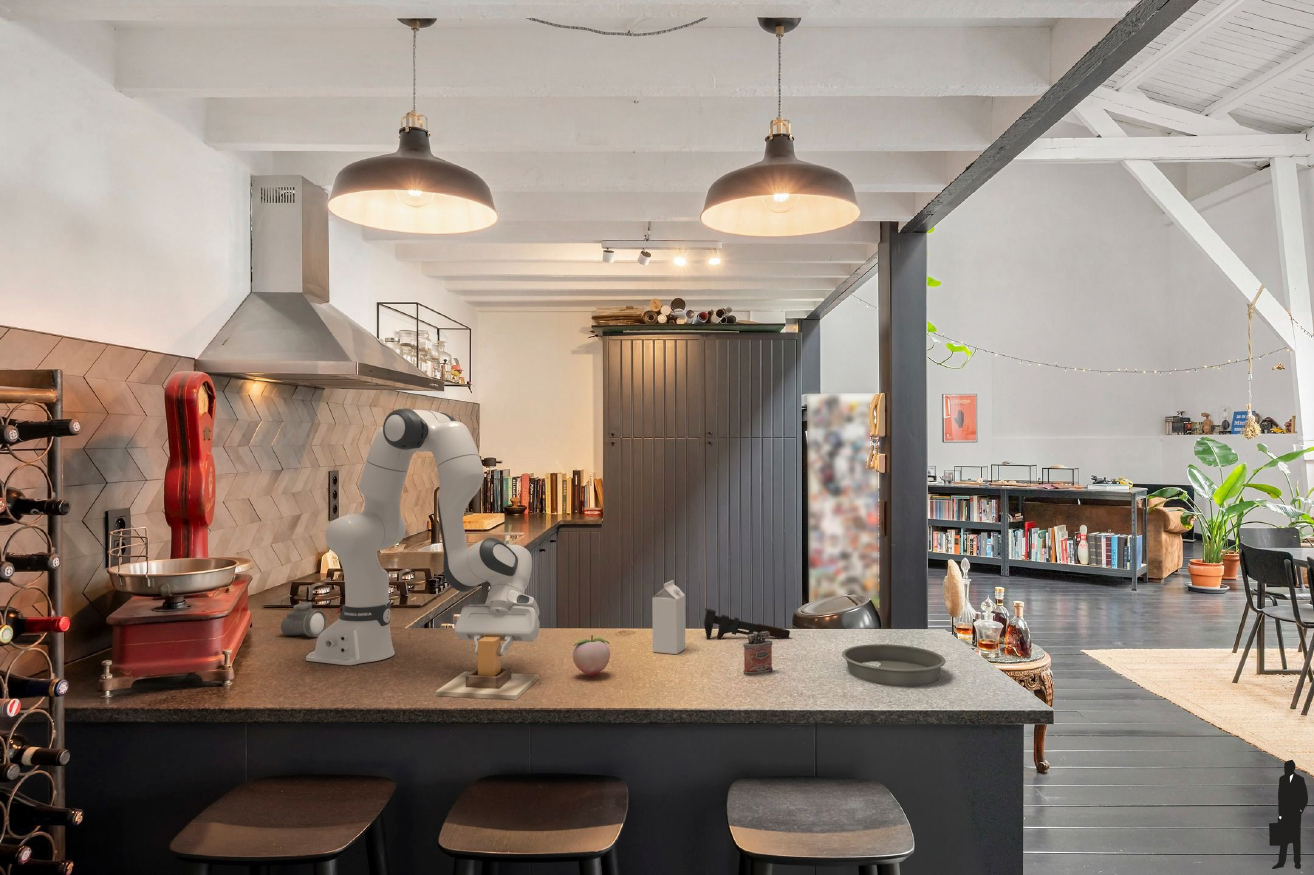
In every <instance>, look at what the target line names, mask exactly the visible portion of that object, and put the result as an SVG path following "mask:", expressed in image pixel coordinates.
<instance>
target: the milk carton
mask: <svg viewBox="0 0 1314 875" xmlns="http://www.w3.org/2000/svg"><path fill="white" fill-rule="evenodd" d="M651 599H652V601H651V602H652V652H653V653H660V654H661V653H662V654H671V655H678V654H679V653H680V652H682V651H684V650H685V649H686V594H685V593H684V592H683V591H682V590H681V589H680V588H679V586H677V585H675V581H674V579H672V580H670V581H667V582H665V583H663V588H662V589H661V590H660V591H658V592H657V593H656V594H655V595H654V596H653V597H652V598H651Z"/></svg>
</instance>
